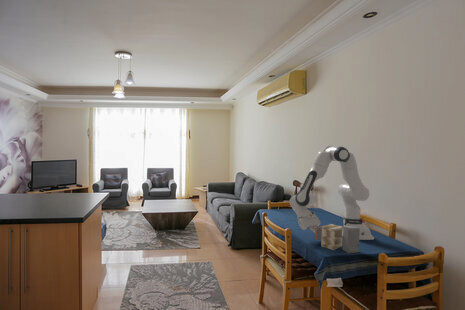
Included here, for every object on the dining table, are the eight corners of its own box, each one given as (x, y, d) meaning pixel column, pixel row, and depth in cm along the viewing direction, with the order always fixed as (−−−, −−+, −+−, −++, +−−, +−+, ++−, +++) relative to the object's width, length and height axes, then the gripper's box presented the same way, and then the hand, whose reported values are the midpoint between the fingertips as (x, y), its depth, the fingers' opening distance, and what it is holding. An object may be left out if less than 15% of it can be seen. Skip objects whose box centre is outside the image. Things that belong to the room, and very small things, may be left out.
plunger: (315, 239, 207) (316, 227, 207) (322, 236, 213) (322, 225, 213) (323, 241, 203) (324, 229, 203) (330, 239, 209) (330, 227, 208)
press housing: (321, 246, 203) (321, 226, 202) (329, 243, 210) (330, 223, 210) (333, 250, 196) (334, 229, 196) (341, 246, 204) (342, 226, 203)
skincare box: (348, 253, 191) (348, 228, 190) (341, 249, 198) (342, 225, 197) (359, 252, 193) (360, 228, 192) (352, 248, 200) (353, 225, 199)
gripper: (298, 215, 210) (310, 232, 203) (315, 211, 224) (326, 227, 217) (293, 220, 213) (304, 237, 207) (309, 216, 227) (321, 232, 220)
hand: (316, 232), depth 212 cm, fingers closed
